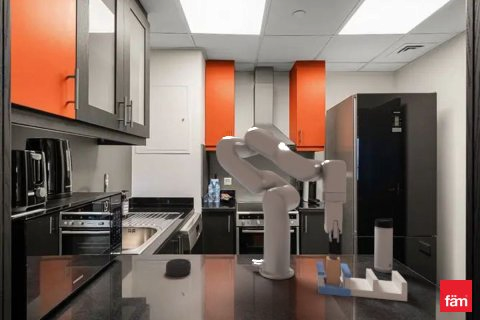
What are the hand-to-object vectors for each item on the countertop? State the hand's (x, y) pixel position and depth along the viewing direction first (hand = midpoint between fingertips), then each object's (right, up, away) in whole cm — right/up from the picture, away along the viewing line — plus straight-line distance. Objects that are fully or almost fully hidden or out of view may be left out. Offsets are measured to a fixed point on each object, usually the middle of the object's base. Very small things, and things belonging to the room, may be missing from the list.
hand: (333, 253), depth 98 cm
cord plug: (0, -11, 0) cm, 11 cm away
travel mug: (+25, -12, +17) cm, 32 cm away
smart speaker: (-53, -11, +11) cm, 55 cm away
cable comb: (+7, -11, -2) cm, 14 cm away
